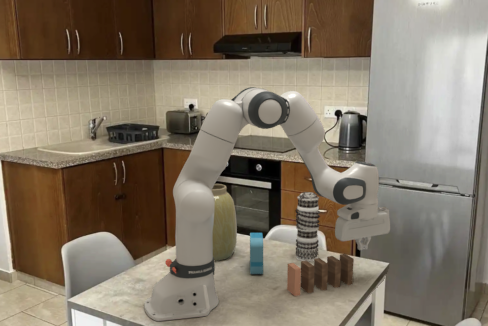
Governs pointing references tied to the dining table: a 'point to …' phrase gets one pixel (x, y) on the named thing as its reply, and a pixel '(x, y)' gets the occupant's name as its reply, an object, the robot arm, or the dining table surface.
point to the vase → (223, 224)
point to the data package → (256, 253)
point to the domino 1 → (293, 279)
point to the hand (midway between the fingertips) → (362, 249)
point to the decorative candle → (307, 227)
